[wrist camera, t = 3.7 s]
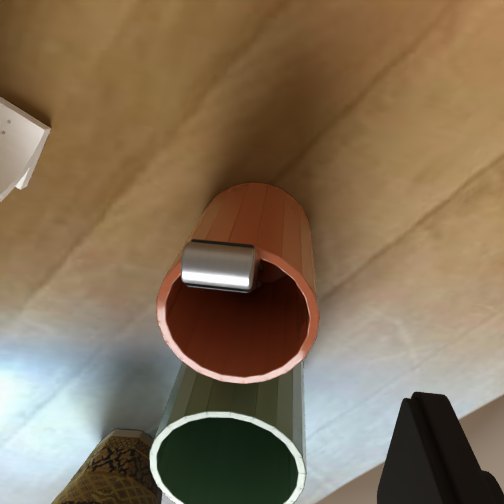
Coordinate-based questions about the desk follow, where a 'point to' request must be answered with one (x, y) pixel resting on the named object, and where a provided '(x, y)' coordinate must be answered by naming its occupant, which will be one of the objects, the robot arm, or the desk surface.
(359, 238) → the desk surface
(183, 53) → the desk surface
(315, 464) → the desk surface
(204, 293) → the terracotta cup
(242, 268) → the tongs
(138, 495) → the ceramic cup
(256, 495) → the green cup
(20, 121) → the headphone stand
